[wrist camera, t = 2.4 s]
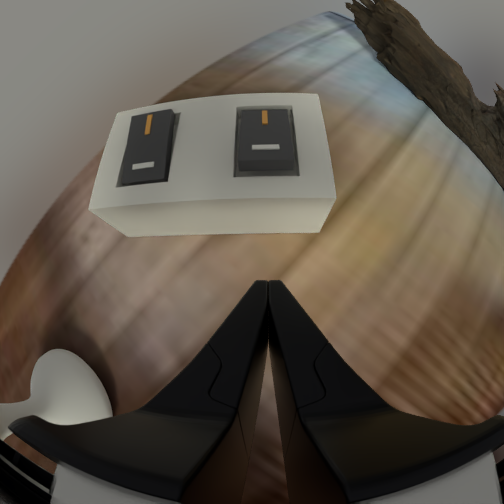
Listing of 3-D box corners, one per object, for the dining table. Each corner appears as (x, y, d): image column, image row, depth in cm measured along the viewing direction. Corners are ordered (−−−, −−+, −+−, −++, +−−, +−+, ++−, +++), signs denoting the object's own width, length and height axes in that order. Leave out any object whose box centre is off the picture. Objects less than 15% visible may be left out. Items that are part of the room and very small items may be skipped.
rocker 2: (293, 170, 17) (294, 158, 16) (239, 171, 17) (237, 159, 16) (287, 119, 20) (287, 108, 19) (242, 120, 20) (241, 109, 19)
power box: (318, 232, 23) (336, 198, 17) (128, 237, 25) (88, 209, 18) (304, 109, 27) (309, 62, 21) (152, 120, 28) (131, 80, 22)
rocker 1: (168, 182, 19) (163, 178, 18) (127, 186, 19) (120, 183, 18) (175, 114, 19) (171, 108, 18) (136, 121, 20) (131, 115, 18)
